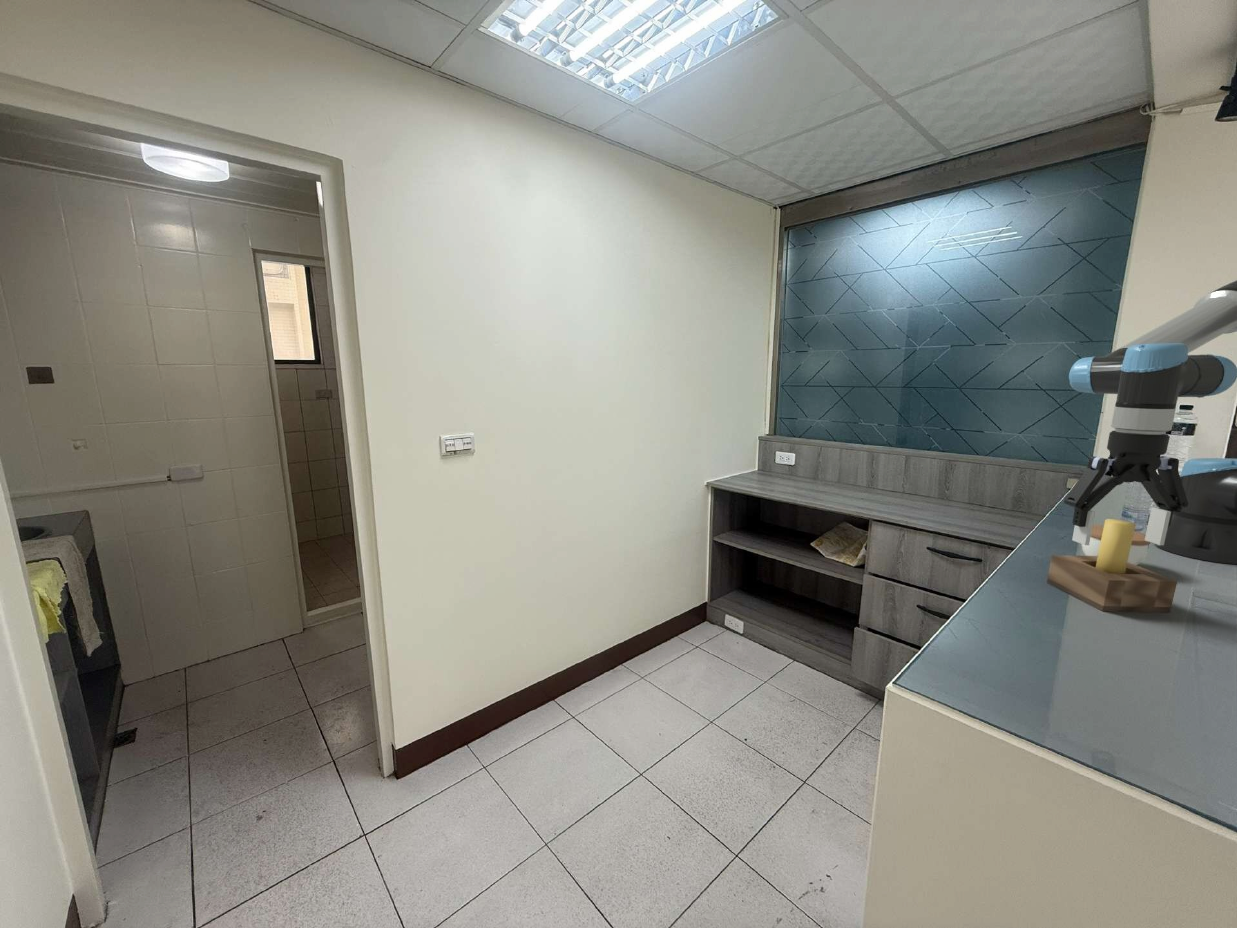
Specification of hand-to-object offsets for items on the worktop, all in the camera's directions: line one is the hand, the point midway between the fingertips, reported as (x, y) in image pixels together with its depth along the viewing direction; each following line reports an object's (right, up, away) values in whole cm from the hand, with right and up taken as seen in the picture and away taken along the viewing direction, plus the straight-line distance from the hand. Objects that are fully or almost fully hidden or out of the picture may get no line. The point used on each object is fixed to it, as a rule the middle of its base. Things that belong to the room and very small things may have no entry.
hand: (1117, 542), depth 92 cm
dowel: (0, -10, +2) cm, 10 cm away
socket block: (0, -11, +2) cm, 11 cm away
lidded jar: (+16, -8, +17) cm, 25 cm away
